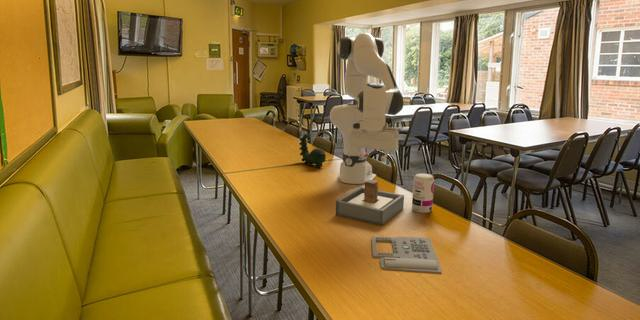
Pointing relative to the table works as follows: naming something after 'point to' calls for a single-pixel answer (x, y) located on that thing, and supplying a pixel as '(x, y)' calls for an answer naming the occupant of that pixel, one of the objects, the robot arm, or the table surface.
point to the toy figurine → (311, 153)
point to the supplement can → (423, 193)
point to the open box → (370, 207)
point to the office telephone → (408, 254)
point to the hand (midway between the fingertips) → (372, 159)
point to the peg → (371, 191)
